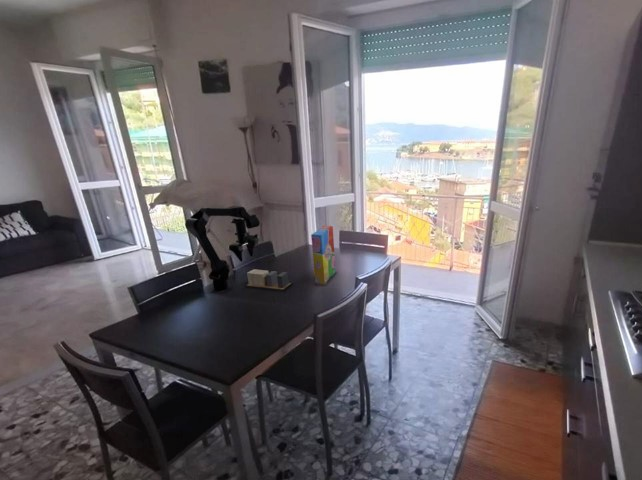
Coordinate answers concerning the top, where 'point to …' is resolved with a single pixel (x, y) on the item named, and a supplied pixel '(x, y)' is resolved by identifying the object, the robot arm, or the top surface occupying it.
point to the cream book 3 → (262, 277)
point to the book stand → (267, 286)
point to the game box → (323, 254)
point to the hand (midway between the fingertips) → (246, 258)
